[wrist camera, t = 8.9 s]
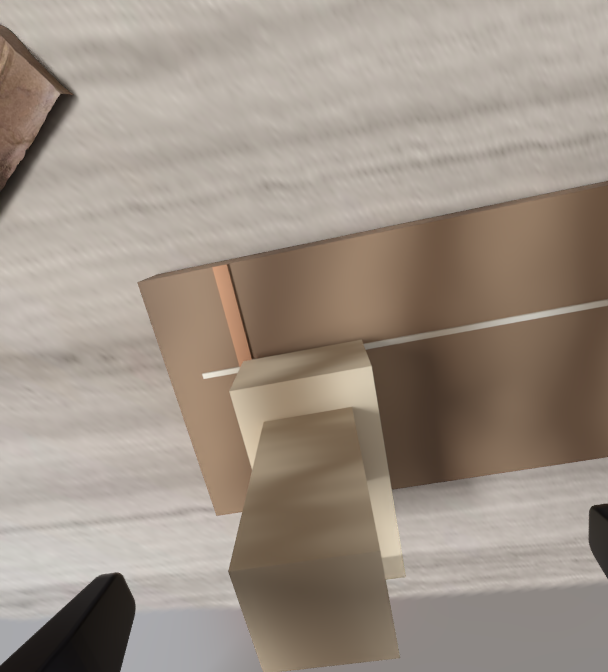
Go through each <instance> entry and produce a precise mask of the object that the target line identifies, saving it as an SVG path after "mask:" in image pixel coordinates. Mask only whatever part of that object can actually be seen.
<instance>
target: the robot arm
mask: <svg viewBox="0 0 608 672" xmlns="http://www.w3.org/2000/svg"><path fill="white" fill-rule="evenodd" d="M589 545H590V548H591V551H592V553H593V555H594V557H595V558H596V560H597V562H598V563H599V565H600V567H601V568H602V570H603V572H604V573H605V575H606V577H607V578H608V504H600V505H594V506H592V507H591V508H590V510H589ZM134 616H135V600H134V598H133V596H132V593H131V591H130V589H129V587H128V585H127V583H126V581H125V579H124V577H123V575H122V574H120V573H117V572H116V573H109V574H102V575H100V576H98V577H96V578H95V579H94V580H93V581H92V582H91V583H90V584H89V585H87V586H86V587H85V588H84V589H83V590H82V591H81V592H80V593H79V594H78V595H77V596H75V597H74V598H73V599H72V600H71V601H70V602H69V603H68V604H67V605H66V606H65V607H63V608H62V609H61V610H60V611H59V612H58V613H57V614H56V615H55V616H54V617H53V618H51V619H50V620H49V621H48V622H47V623H46V624H45V625H44V626H43V627H42V628H41V629H40V630H38V631H37V632H36V633H35V634H34V635H33V636H32V637H31V638H30V639H29V640H28V641H26V642H25V644H23V645H22V646H21V647H20V648H19V649H18V650H17V651H16V652H14V653H13V654H12V655H11V656H10V657H9V658H8V659H7V660H6V661H5V662H4V663H2V665H0V672H120V670H121V667H122V663H123V659H124V655H125V651H126V647H127V643H128V639H129V635H130V632H131V628H132V624H133V620H134Z"/></svg>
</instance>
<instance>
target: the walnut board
mask: <svg viewBox="0 0 608 672" xmlns="http://www.w3.org/2000/svg"><path fill="white" fill-rule="evenodd" d="M138 286H139V289H140V292H141V295H142V298H143V301H144V303H145V306H146V309H147V312H148V315H149V318H150V321H151V324H152V327H153V330H154V333H155V336H156V339H157V342H158V345H159V348H160V351H161V354H162V356H163V359H164V362H165V365H166V368H167V371H168V374H169V377H170V380H171V383H172V386H173V389H174V392H175V395H176V398H177V401H178V404H179V407H180V409H181V412H182V415H183V418H184V421H185V424H186V427H187V430H188V433H189V436H190V439H191V442H192V445H193V448H194V451H195V454H196V457H197V460H198V462H199V465H200V468H201V471H202V474H203V477H204V480H205V483H206V486H207V489H208V492H209V495H210V498H211V501H212V504H213V507H214V510H215V513H216V516H219V515H225V514H232V513H239V512H242V511H243V507H244V503H245V499H246V494H247V490H248V486H249V482H250V477H251V473H252V468H251V464H250V461H249V457H248V454H247V451H246V447H245V444H244V440H243V437H242V433H241V430H240V427H239V423H238V420H237V416H236V413H235V409H234V406H233V402H232V399H231V396H230V392H229V391H230V389H231V387H232V384H233V382H234V380H235V378H236V376H237V374H238V371H239V369H240V367H241V365H242V363H243V361H248V360H253V359H259V358H264V357H270V356H275V355H281V354H286V353H291V352H297V351H302V350H308V349H313V348H319V347H324V346H329V345H335V344H340V343H346V342H351V341H357V340H362V342H363V344H364V347H365V350H366V352H367V355H368V358H369V360H370V363H371V366H372V372H373V378H374V384H375V390H376V396H377V402H378V409H379V415H380V421H381V427H382V433H383V439H384V446H385V452H386V458H387V464H388V470H389V476H390V483H391V489H398V488H405V487H412V486H418V485H425V484H432V483H438V482H445V481H452V480H458V479H465V478H472V477H478V476H485V475H492V474H498V473H505V472H512V471H518V470H525V469H532V468H538V467H545V466H552V465H558V464H565V463H572V462H578V461H585V460H591V459H598V458H605V457H608V181H605V182H600V183H595V184H591V185H586V186H581V187H576V188H571V189H567V190H562V191H557V192H552V193H547V194H543V195H538V196H533V197H528V198H523V199H518V200H514V201H509V202H504V203H499V204H494V205H490V206H485V207H480V208H475V209H470V210H466V211H461V212H456V213H451V214H446V215H442V216H437V217H432V218H427V219H422V220H417V221H413V222H408V223H403V224H398V225H393V226H389V227H384V228H379V229H374V230H369V231H365V232H360V233H355V234H350V235H345V236H340V237H336V238H331V239H326V240H321V241H316V242H312V243H307V244H302V245H297V246H292V247H288V248H283V249H278V250H273V251H268V252H263V253H259V254H254V255H249V256H244V257H239V258H235V259H230V260H225V261H220V262H215V263H211V264H206V265H201V266H196V267H191V268H187V269H182V270H177V271H172V272H167V273H162V274H158V275H155V276H152V277H150V278H147V279H145V280H142V281H140V282H138Z"/></svg>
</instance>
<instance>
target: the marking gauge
mask: <svg viewBox="0 0 608 672" xmlns="http://www.w3.org/2000/svg"><path fill="white" fill-rule="evenodd" d="M229 392H230V396H231V399H232V402H233V406H234V409H235V413H236V416H237V420H238V423H239V427H240V430H241V433H242V437H243V440H244V444H245V447H246V451H247V454H248V457H249V461H250V464H251V468H252V473H251V477H250V482H249V486H248V490H247V494H246V499H245V503H244V507H243V511H242V516H241V520H240V524H239V528H238V533H237V537H236V541H235V545H234V550H233V554H232V558H231V562H230V567H229V571H228V572H229V575H230V578H231V581H232V584H233V586H234V589H235V592H236V595H237V598H238V601H239V604H240V607H241V609H242V612H243V615H244V618H245V621H246V624H247V627H248V630H249V632H250V635H251V638H252V641H253V644H254V647H255V650H256V653H257V655H258V658H259V661H260V664H261V667H262V670H263V672H282V671H291V670H300V669H308V668H317V667H326V666H335V665H344V664H352V663H361V662H370V661H379V660H388V659H396V658H400V655H399V649H398V644H397V638H396V633H395V628H394V623H393V617H392V611H391V606H390V600H389V595H388V590H387V584H386V580H387V579H395V578H402V577H406V575H405V569H404V563H403V557H402V550H401V544H400V538H399V532H398V526H397V520H396V513H395V507H394V501H393V495H392V489H391V483H390V476H389V470H388V464H387V458H386V452H385V446H384V439H383V433H382V427H381V421H380V415H379V409H378V402H377V396H376V390H375V384H374V378H373V372H372V366H371V363H370V360H369V358H368V355H367V352H366V350H365V347H364V344H363V342H362V340H357V341H351V342H346V343H340V344H335V345H329V346H324V347H319V348H313V349H308V350H302V351H297V352H291V353H286V354H281V355H275V356H270V357H264V358H259V359H253V360H248V361H243V363H242V365H241V367H240V369H239V371H238V374H237V376H236V378H235V380H234V382H233V384H232V387H231V389H230V391H229Z"/></svg>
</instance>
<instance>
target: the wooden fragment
mask: <svg viewBox="0 0 608 672" xmlns="http://www.w3.org/2000/svg"><path fill="white" fill-rule="evenodd" d="M60 94H71V95H73V94H72V93H71V92H69V91H68V90H67V89H66V88H64V87H63V86H62V85H61V84H60V83H59V82H58V81H57V80H56V79H55V78H54V77H53V76H52V75H51V74H50V73H49V72H48V71H47V70H46V69H45V68H44V67H43V66H42V65H41V64H40V63H39V62H38V61H37V60H36V59H35V58H34V57H33V56H32V55H31V53H30V52H29V51H28V50H27V49H26V47H25V46H24V45H23V44H22V42H21V41H20V40H18V39H17V37H16V36H15V35H14V34H13V33H12V32H11V31H10V30H9V29H7V28H6V27H4V26H2V25H0V191H1V190H2V189H3V187H4V186H5V184H6V181H7V180H8V178H9V177H10V176H11V174H12V173H13V172H14V170H15V168H16V166H17V164H19V162H20V160H22V159H23V157H24V155H25V150H27V149H29V146H30V145H31V144H32V142H33V141H34V139H35V137H36V135H37V134H38V132H39V130H40V127H41V126H42V124H43V123H44V121H45V119H46V117H47V114H48V112H49V111H50V110H51V108H52V106H53V105H54V103H55V101H56V99H57V98H58V96H59V95H60Z"/></svg>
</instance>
